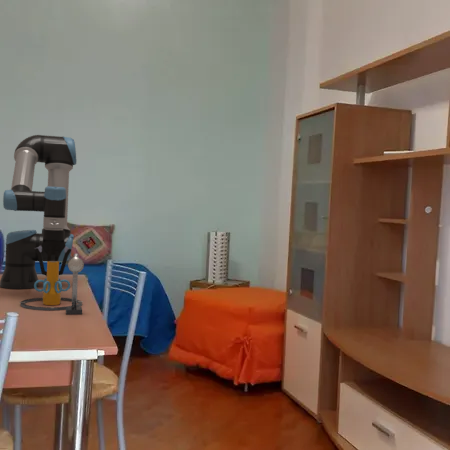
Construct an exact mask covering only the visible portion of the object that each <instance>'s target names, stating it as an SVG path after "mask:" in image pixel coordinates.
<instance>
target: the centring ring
mask: <svg viewBox="0 0 450 450" xmlns="http://www.w3.org/2000/svg"><path fill="white" fill-rule="evenodd" d="M37 301H38V302H39V301H40V302H41V301H43V296H41V297H34V298H27V299H26V298H25V299H24V300H20V301H18V302H19V305H20V307H22V308H23V309H28V310H33V311H35V310H36V311H66V307H72V305H68V306H58V307H57V306H55V307H54V306H50V307H49V306H47V307H46V306H45V307H44V306H34V305H29V304H27V303H31V302H37ZM61 301H65V302H66V301H67V302H72V297H61ZM83 303H84V301H83V300H79V299H77V307H82V305H83Z"/></svg>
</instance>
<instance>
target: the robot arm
mask: <svg viewBox="0 0 450 450" xmlns="http://www.w3.org/2000/svg"><path fill="white" fill-rule="evenodd" d="M13 160H14V161H15V163H14V169H13V170H14V171H13V175H12V181H11V185H10V186H11V187H10V189H6V190H4V191H3V198H2V202H3V203H2V204H3V205H2V206H3V209H5V210H7V211H14V212H43V224H42V228H41V233H37V230H36V229H27V230H17V231H16V230H15V231H10V232H9V233H7V234H6V238H5V259H4V261H5V265H4V266H5V267H4V269H3V272H2V275H1V278H0V288H3V289H12V290H15V289H16V290H17V289H18V290H23V289H26V290H27V289H35V288H34V284H35V282H36V281H37V280H39V276H38V274H37V270H36V262H38V263H39V267H40V272H41V274H42V275H43V276H46V277H47V270H45V269H46V268H45V264H44V262H47V261H59V263H61V265H60V267H59V276H62V275H63V274H64V271H65V267H66V264H67V262H69V260H70V259H71V254H72V249H73V242H74V237H75V235H74V234H73V233H72V232H71V229H70V228H69V227H68V212H69V211H68V209H69V208H68V207H69V185H70V184H69V183H70V172H71V171H72V170H73V169H74V166H75V165H77V151H76V142H75V140H74V139H73V138H72V137H67V136H59V135H58V136H56V135H45V134H44V135H42V134H35V135H30V136H28V137H26V138H24V139H23V140H22V141H20V143H19V144H17V146H16V148H15V150H14V154H13ZM37 163H41V164H42V163H44V168H45V169H46V170H47V171H48V172H47V186H46V187H45V188H44V191H36V190H35V191H34V190H33V184H34V176H35V167H36V164H37ZM39 283H40V282H38V283H37V285H36V287H37V288H39V286H40V284H39Z"/></svg>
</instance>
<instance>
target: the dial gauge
mask: <svg viewBox="0 0 450 450" xmlns="http://www.w3.org/2000/svg"><path fill="white" fill-rule="evenodd" d="M72 256H73V257H71V258H70V259H69V260H68V261H67V267H68V269H69V271H70V272H71V273H72V281H71V282H72V283H71V285H72V287H71V290H72V291H71V298H72V301H71V306H72V307H66V306H65V307H66V310H65V315H67V316H68V315H83V307H82V306H80V307H77V304H78V303H77V300H78V282H79V281H78V280H79V278H78V277H79V273H80V272H82V271H83V270H84V268H85V263H84V260H83V259H82V258H80V255H79V253H73V255H72Z"/></svg>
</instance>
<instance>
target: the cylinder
mask: <svg viewBox="0 0 450 450" xmlns="http://www.w3.org/2000/svg"><path fill="white" fill-rule="evenodd" d="M59 271H60V262H59V261H46V272H47V276H46V277H45V278H44V279H38V280H37V281H36V282H35V284H34V288H33V289H34V290H35V291H36V292H41V293H42V297H43V300H42V304H43V305H45V306H59V305H60V304H61V302H62V300H61V298H62V292H67V291H68V290H69V289H70V288H71V283H70V281H69V280H68V279H61V278H60V277H59V276H60V275H59ZM38 282H39V283H42V289H39V287H36V285H37V283H38ZM62 283H67V287H66V288H64V289H63V284H62Z"/></svg>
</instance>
